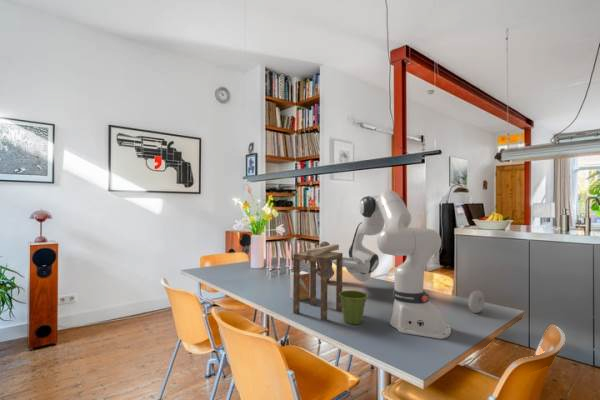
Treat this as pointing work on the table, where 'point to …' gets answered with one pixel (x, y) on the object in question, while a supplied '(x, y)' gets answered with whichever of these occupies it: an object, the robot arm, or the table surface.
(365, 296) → the plant pot
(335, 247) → the slat
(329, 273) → the clay figurine
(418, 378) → the table surface
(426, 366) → the table surface
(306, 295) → the small box
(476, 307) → the donut
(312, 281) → the stool
